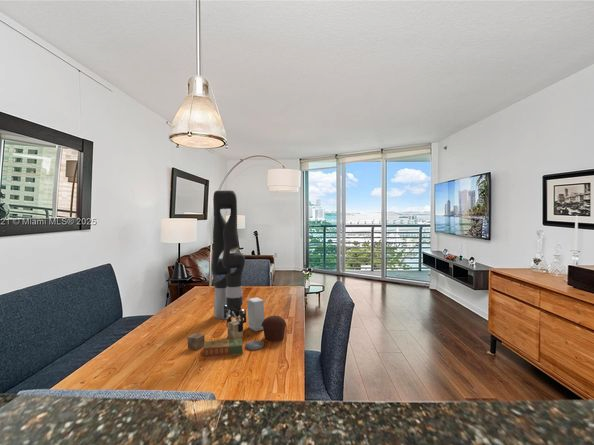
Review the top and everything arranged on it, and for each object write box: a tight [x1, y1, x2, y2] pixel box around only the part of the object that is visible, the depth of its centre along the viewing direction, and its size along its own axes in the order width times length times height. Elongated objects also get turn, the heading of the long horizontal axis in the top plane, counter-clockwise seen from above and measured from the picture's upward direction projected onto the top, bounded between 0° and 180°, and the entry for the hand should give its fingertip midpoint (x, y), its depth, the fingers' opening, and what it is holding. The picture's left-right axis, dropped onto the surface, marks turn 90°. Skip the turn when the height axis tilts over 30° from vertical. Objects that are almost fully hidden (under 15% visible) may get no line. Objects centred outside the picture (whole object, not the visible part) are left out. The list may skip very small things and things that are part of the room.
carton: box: [202, 337, 244, 359], centre depth 132 cm, size 8×16×4 cm, turn 102°
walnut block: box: [187, 332, 206, 351], centre depth 137 cm, size 5×5×5 cm
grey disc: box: [244, 340, 265, 351], centre depth 137 cm, size 8×8×1 cm
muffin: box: [261, 315, 287, 343], centre depth 146 cm, size 12×11×10 cm
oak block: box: [226, 319, 244, 339], centre depth 147 cm, size 5×5×7 cm
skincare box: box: [246, 296, 265, 332], centre depth 158 cm, size 8×6×15 cm
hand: (234, 329), depth 147 cm, fingers open, 8 cm apart
